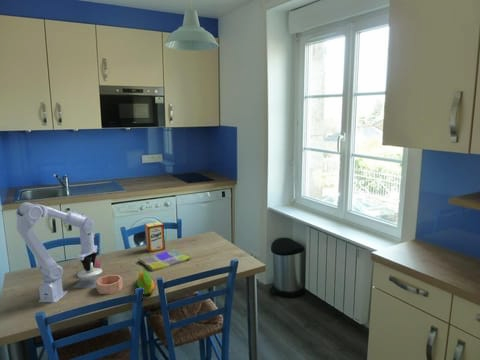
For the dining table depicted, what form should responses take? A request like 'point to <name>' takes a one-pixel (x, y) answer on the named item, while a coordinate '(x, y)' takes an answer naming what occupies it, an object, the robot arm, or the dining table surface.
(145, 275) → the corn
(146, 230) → the baking soda box
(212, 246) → the dining table surface
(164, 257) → the dish towel
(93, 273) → the lid
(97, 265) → the cupcake
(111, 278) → the bowl
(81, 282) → the mat
